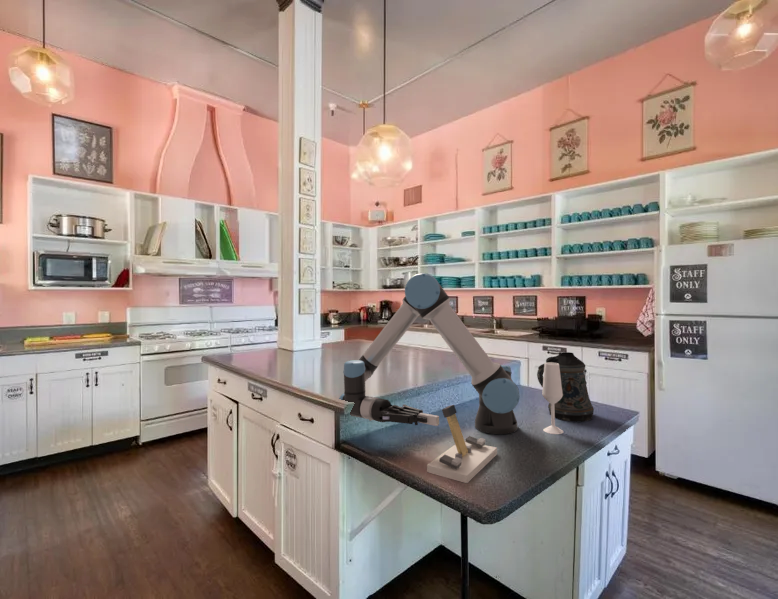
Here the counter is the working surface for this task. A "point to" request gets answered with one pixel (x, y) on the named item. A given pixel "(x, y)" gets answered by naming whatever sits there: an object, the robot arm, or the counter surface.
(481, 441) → the block
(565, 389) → the beer stein
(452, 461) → the block
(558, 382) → the champagne flute
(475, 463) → the switch panel
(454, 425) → the brass lever
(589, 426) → the counter surface
